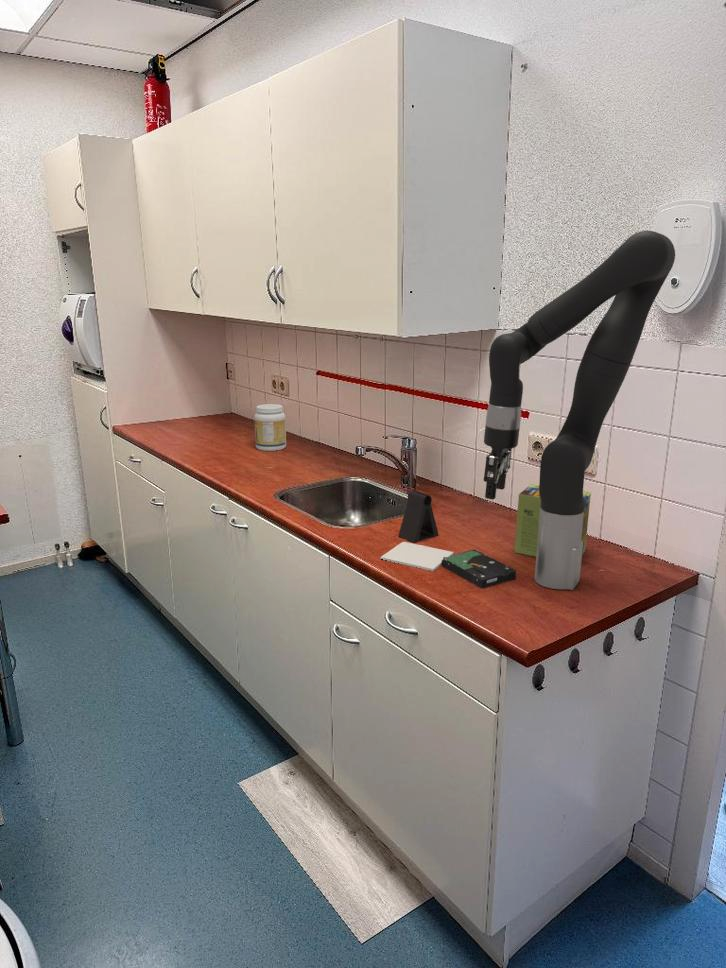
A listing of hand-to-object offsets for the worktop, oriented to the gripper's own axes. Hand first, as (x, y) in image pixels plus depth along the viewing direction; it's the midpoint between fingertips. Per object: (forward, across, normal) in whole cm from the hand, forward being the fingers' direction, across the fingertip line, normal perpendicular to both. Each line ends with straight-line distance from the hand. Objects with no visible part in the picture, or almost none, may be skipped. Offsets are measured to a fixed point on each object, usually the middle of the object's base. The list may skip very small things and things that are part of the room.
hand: (494, 493), depth 158 cm
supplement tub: (+24, +79, +110) cm, 137 cm away
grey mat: (+19, -2, +17) cm, 25 cm away
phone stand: (+19, +11, +22) cm, 31 cm away
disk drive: (+19, -5, +1) cm, 19 cm away
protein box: (+18, +15, -12) cm, 26 cm away
